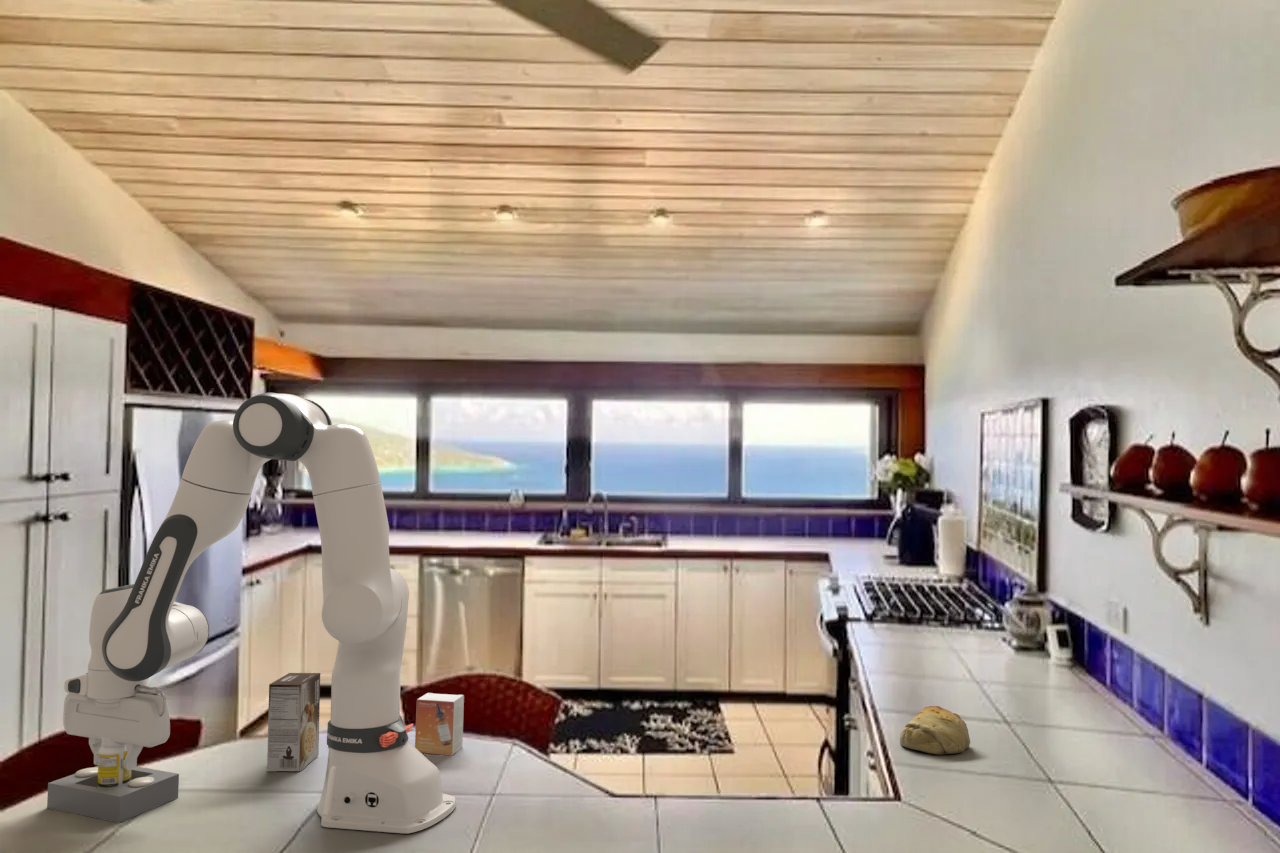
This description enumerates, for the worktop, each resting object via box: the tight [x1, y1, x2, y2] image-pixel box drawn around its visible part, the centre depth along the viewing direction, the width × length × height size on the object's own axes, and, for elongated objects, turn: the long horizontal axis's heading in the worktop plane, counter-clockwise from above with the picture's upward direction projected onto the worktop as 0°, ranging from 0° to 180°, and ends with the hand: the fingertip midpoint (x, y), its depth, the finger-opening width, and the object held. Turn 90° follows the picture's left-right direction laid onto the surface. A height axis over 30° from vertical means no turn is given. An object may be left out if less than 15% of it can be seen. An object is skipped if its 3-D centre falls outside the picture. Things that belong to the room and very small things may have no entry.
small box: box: [414, 692, 465, 757], centre depth 173 cm, size 8×6×10 cm
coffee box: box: [266, 672, 322, 772], centre depth 164 cm, size 9×6×16 cm
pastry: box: [899, 705, 971, 756], centre depth 179 cm, size 14×12×8 cm
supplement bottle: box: [97, 737, 131, 790], centre depth 144 cm, size 5×5×8 cm
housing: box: [46, 765, 180, 824], centre depth 144 cm, size 16×11×4 cm
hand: (114, 766), depth 144 cm, fingers closed on supplement bottle, 5 cm apart
